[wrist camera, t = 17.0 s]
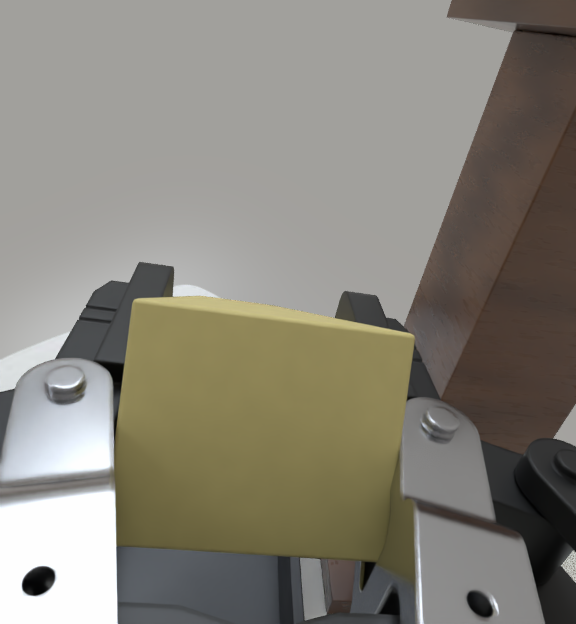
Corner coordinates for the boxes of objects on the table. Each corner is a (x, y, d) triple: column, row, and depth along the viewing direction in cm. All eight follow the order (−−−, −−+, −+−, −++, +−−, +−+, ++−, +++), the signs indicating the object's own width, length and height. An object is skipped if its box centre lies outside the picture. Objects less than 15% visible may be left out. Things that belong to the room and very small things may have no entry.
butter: (385, 565, 7) (417, 334, 7) (100, 547, 6) (132, 297, 6) (265, 366, 26) (273, 305, 26) (191, 358, 25) (199, 295, 25)
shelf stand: (517, 639, 30) (1035, 37, 13) (328, 632, 29) (645, -68, 12) (445, 460, 42) (670, 20, 25) (308, 448, 41) (451, -33, 24)
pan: (307, 1044, 17) (335, 1033, 15) (-40, 1070, 16) (-63, 1064, 13) (280, 465, 38) (290, 428, 36) (132, 452, 37) (134, 412, 35)
